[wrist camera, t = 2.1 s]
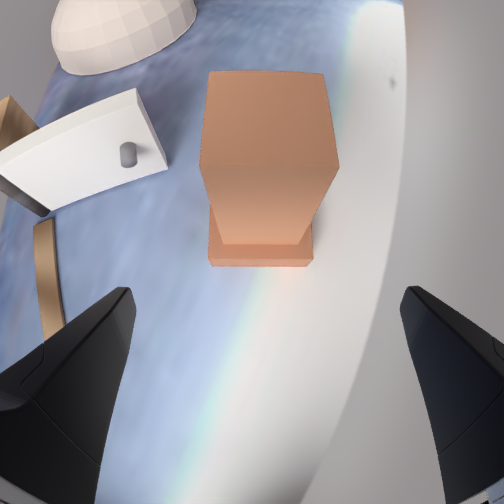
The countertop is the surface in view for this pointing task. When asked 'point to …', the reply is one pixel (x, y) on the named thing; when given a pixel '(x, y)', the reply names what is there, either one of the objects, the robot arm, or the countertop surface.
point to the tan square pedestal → (265, 165)
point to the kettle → (116, 31)
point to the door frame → (3, 135)
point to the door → (85, 152)
